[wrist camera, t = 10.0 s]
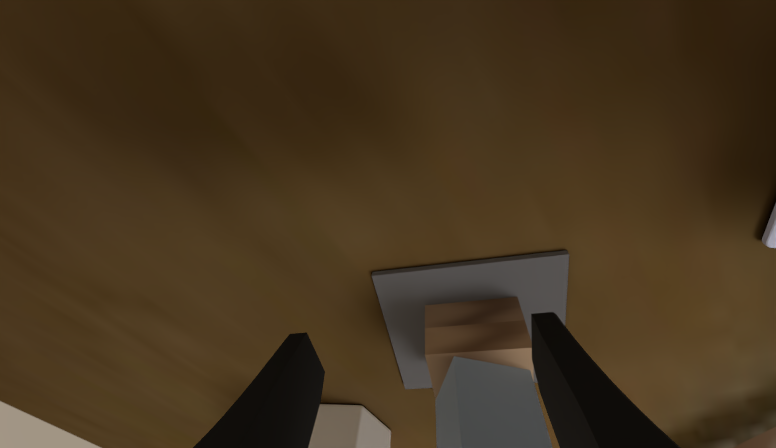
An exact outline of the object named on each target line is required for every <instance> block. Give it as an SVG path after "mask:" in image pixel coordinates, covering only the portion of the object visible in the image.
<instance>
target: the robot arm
mask: <svg viewBox="0 0 776 448" xmlns="http://www.w3.org/2000/svg"><path fill="white" fill-rule="evenodd" d="M762 242H763V244H765V245H766V246H767V247H770V248H776V203H775V206H774V209H773V211H772V214H771V216H770V219H769V222H768V224H767V227H766V230H765V232H764V235H763V237H762ZM531 332H532V362H533V366H534V370H535V374H536V378H537V382H538V386H539V390H540V393H541V396H542V399H543V402H544V405H545V407H546V410H547V413H548V416H549V418H550V421H551V424H552V427H553V429H554V432H555V435H556V438H557V440H558V443H559V446H560V448H680V447H679V446H678V445H677V444H676V443H675V442H674V441H672V440H671V439H670V438H669V437H668V436H667V435H666V434H665V433H664V432H663V431H662V430H660V429H659V428H658V427H657V426H656V425H655V424H654V423H653V422H652V421H651V420H650V419H649V418H648V417H647V416H646V415H645V414H644V413H642V412H641V411H640V410H639V409H638V408H637V407H636V406H635V405H634V404H633V403H632V402H631V401H630V400H629V399H628V398H627V397H626V395H625V394H624V393H623V392H622V391H621V390H620V389H619V388H618V387H617V386H616V385H615V384H614V383H613V382H612V381H611V380H610V379H609V378H608V376H607V375H606V374H605V373H604V372H603V371H602V370H601V369H600V368H599V366H598V365H597V364H596V363H595V362H594V361H593V360H592V359H591V357H590V356H589V355H588V354H587V353H586V352H585V350H584V349H583V348H582V347H581V346H580V344H579V343H578V342H577V341H576V340H575V338H574V337H573V336H572V335H571V333H570V332H569V331H568V329H567V328H566V327H565V325H564V324H563V323H562V321H561V320H560V319H559V317H558V316H557V314H555V313H554V312H546V313H534V314H531ZM324 373H325V371H324V369H323V367H322V365H321V362H320V360H319V358H318V356H317V354H316V352H315V349H314V347H313V345H312V343H311V341H310V339H309V337H308V334H307V333H296V334H290V335H289V336H288V337H287V338H286V340H285V341H284V342H283V343H282V345H281V346H280V347H279V348H278V350H277V351H276V352H275V354H274V355H273V356H272V357H271V359H270V360H269V361H268V362H267V364H266V365H265V366H264V368H263V369H262V370H261V371H260V373H259V374H258V375H257V376H256V378H255V379H254V380H253V381H252V383H251V384H250V385H249V386H248V388H247V389H246V390H245V391H244V392H243V394H242V395H241V396H240V397H239V398H238V400H237V401H236V402H235V403H234V404H233V405H232V406H231V408H230V409H229V410H228V411H227V412H226V413H225V415H224V416H223V417H222V418H221V419H220V420H219V421H218V422H217V424H216V425H215V426H214V427H213V428H212V429H211V430H210V431H209V432H208V433H207V434H206V435H205V436H204V437H203V438H202V439H201V440H200V441H199V442H198V443H197V444H196V445H195V446H194V447H193V448H308V447H309V443H310V439H311V436H312V432H313V428H314V425H315V421H316V417H317V413H318V409H319V406H320V401H321V395H322V388H323V381H324Z"/></svg>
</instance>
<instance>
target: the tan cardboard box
mask: <svg viewBox="0 0 776 448" xmlns="http://www.w3.org/2000/svg"><path fill="white" fill-rule="evenodd" d="M521 320H525V319H524V316H523V313H522V310H521V307H520V304H519V300H518V297H510V298H499V299H489V300H478V301H467V302H456V303H445V304H435V305H425V328H435V327H447V326H459V325H472V324H484V323H496V322H509V321H521Z"/></svg>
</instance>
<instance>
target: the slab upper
mask: <svg viewBox="0 0 776 448" xmlns="http://www.w3.org/2000/svg"><path fill="white" fill-rule="evenodd" d="M454 356H456V357H461V358H467V359H472V360H478V361H483V362H489V363H494V364H500V365H505V366H511V367H516V368H522V369H527V370H530V371H531V375H532V378H533V382H534V375H533V362H532V342H531V339H530V335H529V332H528V329H527V326H526V323H525V320H521V321H509V322H496V323H484V324H472V325H459V326H447V327H435V328H425V357H426V361H427V365H428V370H429V374H430V378H431V382H432V387H433V391H434V395H435V399H436V398H437V396H438V393H439V391H440V389H441V386H442V384H443V381H444V379H445V376H446V374H447V372H448V369H449V367H450V364H451V362H452V360H453V357H454Z"/></svg>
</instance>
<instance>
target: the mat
mask: <svg viewBox="0 0 776 448" xmlns="http://www.w3.org/2000/svg"><path fill="white" fill-rule="evenodd" d="M568 265H569V253H568V251H567V250H564V251H555V252H546V253H538V254H529V255H520V256H511V257H502V258H493V259H484V260H475V261H466V262H457V263H448V264H439V265H430V266H422V267H413V268H404V269H395V270H386V271H377V272H372V279H373V282H374V286H375V289H376V292H377V296H378V299H379V302H380V306H381V309H382V312H383V316H384V319H385V323H386V326H387V329H388V333H389V336H390V339H391V343H392V346H393V349H394V353H395V356H396V359H397V363H398V366H399V369H400V373H401V376H402V379H403V383H404V386H405V389H417V388H433V387H432V382H431V378H430V374H429V370H428V365H427V361H426V357H425V305H435V304H445V303H456V302H467V301H478V300H489V299H499V298H510V297H518V300H519V304H520V307H521V310H522V313H523V316H524V319H525V323H526V326H527V329H528V332H529V335H530V339H531V342H532V332H531V314H534V313H546V312H554V313H555V314H557V316H558V317H559V319H560V320H561V321H562V323H563V324H564V325H565V317H566V300H567V283H568ZM533 375H534V383H535V382H537V378H536V374H535V370H534V366H533Z"/></svg>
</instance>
